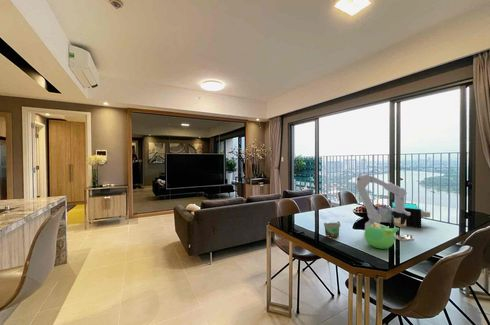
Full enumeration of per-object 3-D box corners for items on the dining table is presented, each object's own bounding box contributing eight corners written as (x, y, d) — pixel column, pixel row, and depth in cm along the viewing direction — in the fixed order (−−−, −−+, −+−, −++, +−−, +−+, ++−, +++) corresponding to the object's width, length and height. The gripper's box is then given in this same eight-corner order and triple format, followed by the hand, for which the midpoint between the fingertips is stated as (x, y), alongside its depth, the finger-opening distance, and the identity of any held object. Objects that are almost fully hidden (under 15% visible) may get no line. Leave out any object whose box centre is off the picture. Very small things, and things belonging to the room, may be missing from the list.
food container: (329, 239, 146) (329, 225, 146) (323, 236, 152) (323, 222, 152) (344, 237, 149) (344, 223, 149) (338, 234, 155) (338, 221, 155)
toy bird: (369, 240, 145) (368, 218, 145) (399, 246, 133) (399, 223, 133) (361, 248, 132) (360, 224, 132) (394, 256, 120) (393, 230, 120)
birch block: (399, 226, 152) (399, 219, 152) (394, 225, 156) (394, 218, 156) (406, 226, 153) (406, 219, 153) (400, 224, 157) (400, 217, 157)
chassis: (401, 241, 142) (401, 237, 142) (393, 237, 148) (393, 234, 148) (414, 239, 144) (414, 236, 144) (405, 236, 150) (405, 233, 150)
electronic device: (433, 230, 164) (433, 210, 163) (393, 225, 177) (393, 207, 176) (426, 221, 185) (426, 204, 185) (391, 218, 198) (391, 201, 198)
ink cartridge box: (389, 221, 189) (388, 204, 189) (392, 222, 183) (391, 205, 183) (376, 220, 191) (376, 204, 191) (379, 222, 185) (379, 205, 185)
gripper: (414, 205, 148) (414, 225, 148) (395, 202, 162) (395, 219, 162) (405, 206, 146) (405, 226, 146) (387, 202, 161) (387, 220, 161)
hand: (399, 223), depth 154 cm, fingers closed on birch block, 4 cm apart
